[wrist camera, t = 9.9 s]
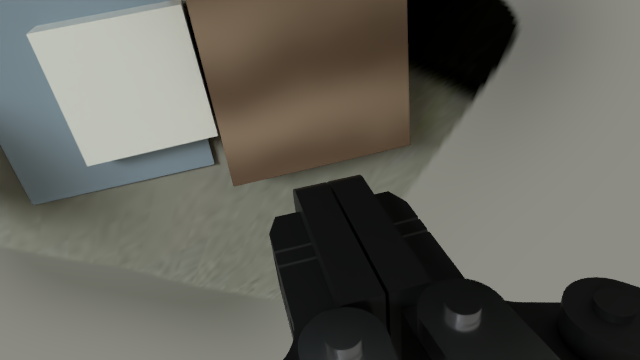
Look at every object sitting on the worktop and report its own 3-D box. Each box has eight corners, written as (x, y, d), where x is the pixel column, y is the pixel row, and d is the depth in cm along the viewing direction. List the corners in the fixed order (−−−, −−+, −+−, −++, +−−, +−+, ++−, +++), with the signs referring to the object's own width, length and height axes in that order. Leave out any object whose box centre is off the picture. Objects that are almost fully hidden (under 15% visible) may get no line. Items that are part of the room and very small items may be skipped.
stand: (171, -63, 26) (170, -58, 23) (377, -94, 28) (404, -94, 24) (228, 158, 33) (233, 186, 30) (388, 122, 35) (410, 145, 32)
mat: (-110, -68, 23) (-114, -67, 23) (141, -103, 25) (141, -103, 24) (34, 202, 31) (32, 205, 31) (214, 161, 33) (214, 164, 33)
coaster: (35, 26, 26) (26, 34, 24) (180, -2, 27) (181, 4, 26) (92, 152, 30) (87, 166, 29) (215, 123, 31) (218, 135, 30)
